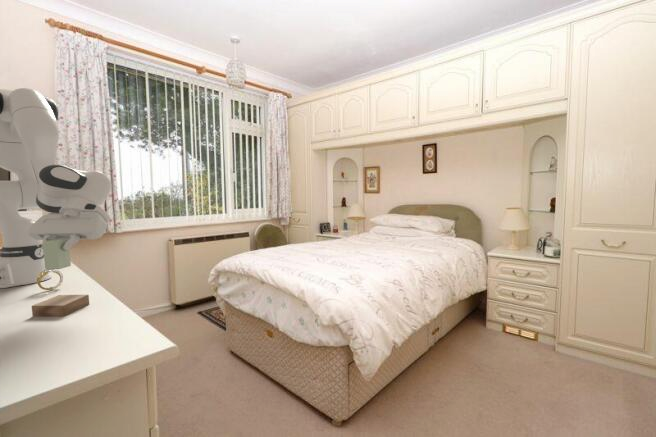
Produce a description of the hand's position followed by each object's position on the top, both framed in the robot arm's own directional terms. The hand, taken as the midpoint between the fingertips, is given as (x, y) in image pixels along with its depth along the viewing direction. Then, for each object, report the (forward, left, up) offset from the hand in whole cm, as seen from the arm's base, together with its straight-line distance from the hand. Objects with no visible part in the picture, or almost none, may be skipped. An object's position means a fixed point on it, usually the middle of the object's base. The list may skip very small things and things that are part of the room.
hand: (54, 249), depth 90 cm
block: (0, +1, -5) cm, 5 cm away
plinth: (0, +1, -18) cm, 18 cm away
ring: (-20, +20, -18) cm, 33 cm away
